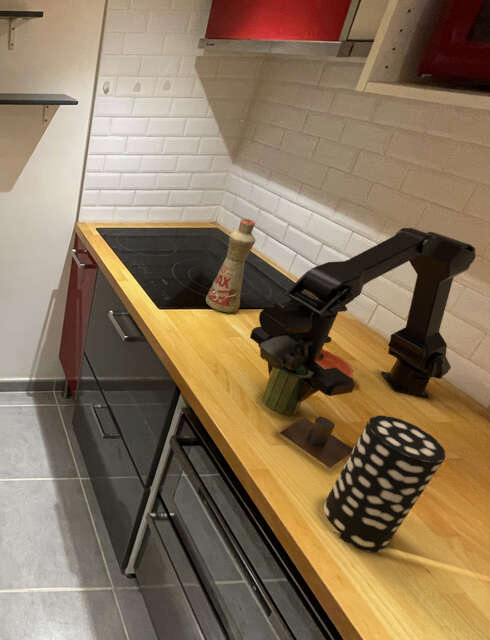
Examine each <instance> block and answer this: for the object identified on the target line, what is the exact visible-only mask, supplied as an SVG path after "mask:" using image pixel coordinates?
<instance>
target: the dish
mask: <svg viewBox="0 0 490 640" xmlns="http://www.w3.org/2000/svg"><path fill="white" fill-rule="evenodd" d="M321 353H322V354H323V355H324V357H323V359H321V360H317V363H318V364H320V365H321V366H322V367H324V368H325V369H329V368H335V367H336V368H337V369H339V370H340V371H342V372H343V373H345V374H346V375H347V376H349V377H350V378H352V379H353V377H354V373H355V370H354V369H353V367H352V366H351V364H350V363H349V362H348V361H347V360H345V359H344V358H342V357H341V356H339V355H338V354H336V353H334V352H331V351H330V350H327V349H325V348H322V350H321Z"/></svg>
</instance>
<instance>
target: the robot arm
mask: <svg viewBox="0 0 490 640" xmlns="http://www.w3.org/2000/svg"><path fill="white" fill-rule="evenodd" d="M476 255H477V254H476V248H475V247H474V246H473V245H472V244H470V243H467V242H464V241H462V240H458V239H455V238H453V237H449V236H446V235H443V234H440V233H438V232H435V231H429V232H425V231H422V230H419V229H417V228H413V227H403V228H400V229H399V230H398V231H397V232H395V235H393V236H391V237H389V238H387V239H386V240H384V241H382V242H380V243H377V244H376V245H374V246H372V247H370V248H368V249H366V250H364V251H362V252H360V253H359V254H357V255H354V256H353V257H350V258H349V259H345V260H343V261H327V262H325V263H322V264H320V265H316V266H314V267H311V268H310V269H309V270H307V271H306V272H305V273H304V274H302V276H300V277H299V279H298V280H297V281H296V282H294V283H293V285H291V286H290V287H289V288H288V290H286V291H285V292H284V296H285V297H286V298H289V299H290V300H287V301H275V302H274V304H273V305H272V306H267V307H265V308H263V309H262V310H261V311H260V312H259V314H258V322H259V325H260V326H255V327H254V328H253V329H252V330H251V332H250V335H249V338H250V339H251V340H252V341H254V342H255V343H256V344H257V345H258V348H259V353H260V354H259V356H260V358H261V360H264V361H265V362H266V363H267V370H268V371H267V373H268V377H269V376H270V373H271V371H272V368H273V367H274V368H276V369H282V368H285V367H286V368H288V369H289V370H291V371H292V370H295V369H297V368H299V367H301V366H302V365H303V366H304V367H305V368H307V369H308V370H310V371H311V372H312V375H311V377H308V378H302V381H303V382H304V384H303V387H302V389H301V391H300V393H299V395H298V399H297V401H298V402H301V403H303V402H305V400H308V399H309V398H310V397H312V396H313V395H315V394H316V393H317V392H321V393H322V394H323V395H325V396H327V397H328V396H329V397H334V396H340V395H344V394H345V395H346V394H351V393H353V391H354V389H355V387H356V381H355V380H354V379H353V377H352V378H350V377H349V376H347V375H346V374H345V373H343V372H342V371H340V370H339V369H337V368H336V367H335V368H329V369H325V368H324V367H322V366H321V365H320V364H318V363H317V360H321V359H323V357H324V355H323V354H322V353H321V350H322V349H324V347H325V344H330V343H331V341H332V338H333V337H331V336H329V334H330V332H331V330H332V328H333V326H334V323H335V321H336V318H337V316H338V314H339V313H343V312H347V311H348V307H347V306H346V305H349V304H350V303H352V301H354V300H355V299H356V298H358V297H359V296H360V295H361V294H362V291H363V288H364V286H365V285H366V284H368V283H369V282H371V281H373V280H375V279H377V278H379V277H381V276H383V275H385V274H387V273H389V272H390V271H392V270H395V269H397V268H398V267H400V266H403V265H404V264H407V262H409V263H410V265H411V267H412V268H413V271H414V272H415V273H416V279H415V282H414V283H415V284H414V289H413V293H412V298H411V302H410V306H409V310H408V316H407V319H406V324H405V327H403V328H401V329H399V330H397V331H395V332H393V333H391V334H390V338H389V339H390V340H389V343H388V344H387V346H388V350H387V351H388V352H387V354H388V355H390V356H392V357H394V358H395V359H396V360H395V362H394V364H393V366H392V367H391V369H390V371H381V372H380V374H381V376H382V378H384V380H385V381H386V382H387V384H388V385H389V387H390V388H391V389H392V390H393V391H395V392H397V393H398V392H399V393H403V394H409V395H412V396H413V395H414V396H417V397H418V396H419V397H423V398H430V397H431V396H430V394H429V393H428V392H427V391H426V387H427V386H428V385H429V382H430V379H431V378H434V379H438V380H441V379H443V377H444V376H446V374H448V373H449V371H450V370H451V368H452V366H451V364H450V362H449V360H448V358H447V349H448V345H447V342H446V340H445V339H444V337H443V336H442V334H441V332H440V329H441V327H442V326H441V325H442V321H443V318H444V314H445V311H446V307H447V303H448V300H449V297H450V292H451V288H452V285H453V281H454V278H455V277H457V276H459V275H461V274H462V273H464V272H466V271H468V270H469V269H470V268H471V265H472V263H473V262H474V261H475V259H476ZM303 291H304V292H306V293H308V294H309V295H311V296H312V297H315V298H312V297H310V296H308V295H307V294H305V293H303Z"/></svg>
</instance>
